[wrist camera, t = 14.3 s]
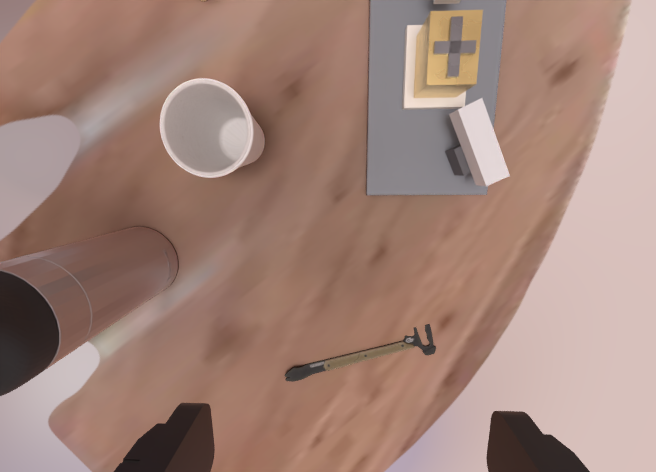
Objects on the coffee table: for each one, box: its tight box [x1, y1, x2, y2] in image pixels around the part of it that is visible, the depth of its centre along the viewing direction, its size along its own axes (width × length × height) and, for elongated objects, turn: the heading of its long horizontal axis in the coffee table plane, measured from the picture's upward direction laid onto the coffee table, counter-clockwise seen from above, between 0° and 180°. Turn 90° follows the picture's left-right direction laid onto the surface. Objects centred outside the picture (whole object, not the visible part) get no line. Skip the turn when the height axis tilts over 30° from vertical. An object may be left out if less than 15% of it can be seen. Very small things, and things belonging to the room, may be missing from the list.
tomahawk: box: [285, 324, 436, 381], centre depth 41 cm, size 21×7×1 cm, turn 105°
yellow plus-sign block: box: [414, 10, 483, 98], centre depth 29 cm, size 6×4×5 cm
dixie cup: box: [160, 78, 265, 178], centre depth 31 cm, size 8×8×10 cm
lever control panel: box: [366, 0, 510, 195], centre depth 31 cm, size 27×14×6 cm, turn 1°
